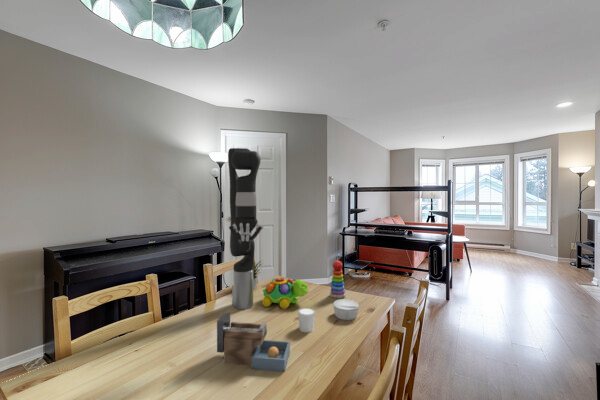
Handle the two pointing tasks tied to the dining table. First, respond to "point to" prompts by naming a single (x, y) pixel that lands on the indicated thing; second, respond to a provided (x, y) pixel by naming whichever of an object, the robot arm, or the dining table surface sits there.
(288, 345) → the blue square tray
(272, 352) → the ball
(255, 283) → the house plant
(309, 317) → the white cup
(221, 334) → the pusher
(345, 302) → the ramekin
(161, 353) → the dining table surface
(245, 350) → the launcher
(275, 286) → the turtle toy
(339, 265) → the stacking toy
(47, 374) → the dining table surface
